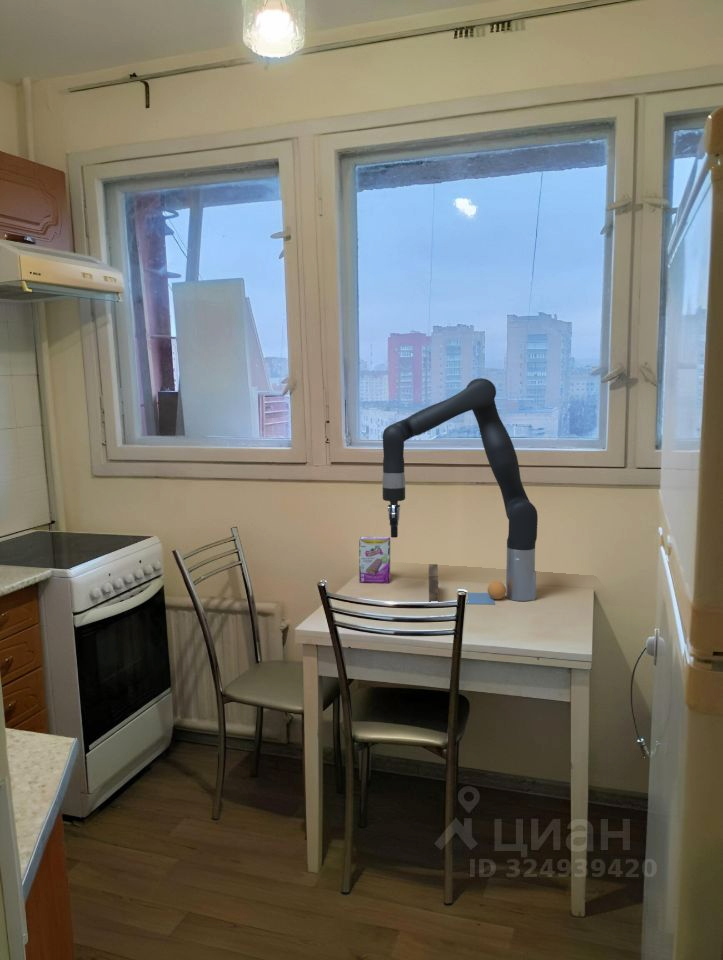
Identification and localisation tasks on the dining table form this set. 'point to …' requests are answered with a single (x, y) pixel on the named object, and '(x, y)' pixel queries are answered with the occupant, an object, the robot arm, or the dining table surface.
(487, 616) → the dining table surface
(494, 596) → the ball
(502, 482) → the robot arm
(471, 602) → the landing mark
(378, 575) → the candy bar box
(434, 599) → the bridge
